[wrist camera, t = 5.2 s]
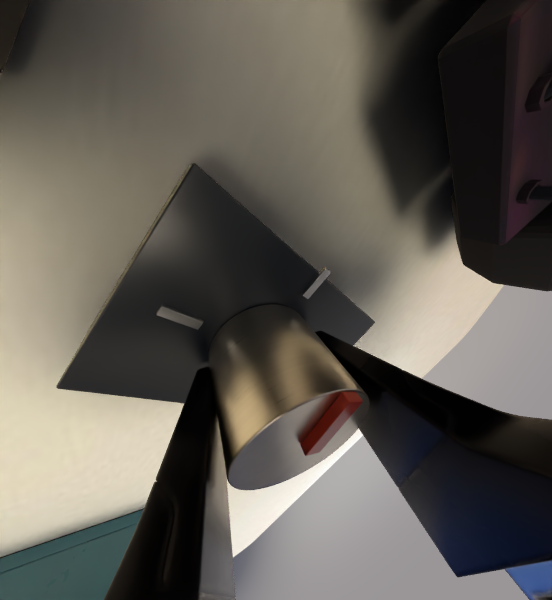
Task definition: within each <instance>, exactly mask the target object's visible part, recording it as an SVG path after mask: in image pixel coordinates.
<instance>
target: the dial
mask: <svg viewBox="0 0 552 600" xmlns="http://www.w3.org/2000/svg"><path fill="white" fill-rule="evenodd" d="M209 365H210V372H211V378H212V384H213V391H214V397H215V404H216V410H217V417H218V423H219V430H220V436H221V442H222V449H223V455H224V462H225V468H226V475H227V479H228V482H229V483H230V484H231V486H233V487H234V488H237V489H240V490H255V489H261V488H266V487H269V486H273V485H276V484H278V483H281V482H284V481H286V480H288V479H291V478H293V477H295V476H297V475H299V474H301V473H303V472H304V471H306V470H308V469H310V468H311V467H313V466H315V465H316V464H318V463H319V462H321V461H322V460H324V459H325V458H327V457H328V456H329V455H331V454H332V453H333V452H334V451H336V450H337V449H338V448H339V447H340V446H342V445H343V444H344V443H345V442H346V441H347V440H348V439H349V438H350V437H351V436H352V435H353V434H354V433H355V431H356V430H357V429H358V428H359V426H360V425H361V424H362V422H363V420H364V419H365V417H366V415H367V413H368V410H369V405H370V403H369V398H368V396H367V394H366V393H365V392H364V391H363V389H362V388H361V387H360V386H359V385H358V383H357V382H356V381H355V380H354V379H353V377H352V376H351V375H350V374H349V373H348V371H347V370H346V369H345V368H344V367H343V366H342V364H341V363H340V362H339V361H338V360H337V358H336V357H335V356H334V355H333V354H332V352H331V351H330V350H329V349H328V348H327V346H326V345H325V344H324V343H323V342H322V340H321V339H320V338H319V337H318V336H317V335H316V333H315V332H314V331H313V330H312V329H311V327H310V326H309V325H308V324H307V323H306V321H305V320H304V319H303V318H302V317H301V316H300V314H299V313H297V312H296V311H295V310H293V309H291V308H289V307H286V306H282V305H273V304H270V305H261V306H257V307H253V308H250V309H248V310H245V311H243V312H241V313H239V314H238V315H236V316H234V317H233V318H232V319H230V320H229V321H228V322H227V323H225V324H224V325H223V326H222V327H221V329H220V330H219V331H218V332H217V334H216V335H215V337H214V339H213V341H212V343H211V345H210V348H209Z"/></svg>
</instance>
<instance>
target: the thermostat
mask: <svg viewBox="0 0 552 600" xmlns="http://www.w3.org/2000/svg"><path fill="white" fill-rule="evenodd" d="M330 273H331V272H330V271H329V270H328V269H327V268H325V267H323V269H322V270H321V271H320V272H318V271H317V270H315V269H314V268H313V267H312V266H311V265H310V264H309V263H307V262H306V261H305V260H304V259H303V258H302V257H301V256H299V255H298V254H297V253H296V252H295V251H294V250H293V249H292V248H290V247H289V246H288V245H287V244H286V243H285V242H284V241H282V240H281V239H280V238H279V237H278V236H277V235H276V234H274V233H273V232H272V231H271V230H270V229H269V228H268V227H266V226H265V225H264V224H263V223H262V222H261V221H260V220H259V219H257V218H256V217H255V216H254V215H253V214H252V213H251V212H249V211H248V210H247V209H246V208H245V207H244V206H243V205H241V204H240V203H239V202H238V201H237V200H236V199H235V198H233V197H232V196H231V195H230V194H229V193H228V192H227V191H226V190H224V189H223V188H222V187H221V186H220V185H219V184H218V183H216V182H215V181H214V180H213V179H212V178H211V177H210V176H208V175H207V174H206V173H205V172H204V171H203V170H202V169H200V168H199V167H198V166H197V165H196V164H192V165H190V166H188V167H187V169H186V170H185V172H184V174H183V175H182V177H181V179H180V180H179V182H178V184H177V185H176V187H175V189H174V190H173V192H172V194H171V195H170V197H169V198H168V200H167V202H166V203H165V205H164V207H163V208H162V210H161V212H160V213H159V215H158V217H157V218H156V220H155V222H154V223H153V225H152V226H151V228H150V230H149V231H148V233H147V235H146V236H145V238H144V240H143V241H142V243H141V245H140V246H139V248H138V250H137V251H136V253H135V254H134V256H133V258H132V259H131V261H130V263H129V264H128V266H127V268H126V269H125V271H124V273H123V274H122V276H121V278H120V279H119V281H118V282H117V284H116V286H115V287H114V289H113V291H112V292H111V294H110V296H109V297H108V299H107V301H106V302H105V304H104V305H103V307H102V309H101V310H100V312H99V314H98V315H97V317H96V319H95V320H94V322H93V324H92V325H91V327H90V329H89V330H88V332H87V334H86V335H85V337H84V339H83V341H82V342H81V344H80V346H79V348H78V349H77V351H76V353H75V355H74V356H73V358H72V360H71V362H70V364H69V365H68V367H67V369H66V371H65V372H64V374H63V376H62V378H61V379H60V381H59V383H58V385H57V388H58V389H66V390H75V391H83V392H92V393H101V394H109V395H118V396H126V397H135V398H144V399H152V400H161V401H170V402H178V403H185V401H186V398H187V396H188V393H189V390H190V388H191V385H192V383H193V380H194V377H195V375H196V372H197V370H198V369H200V368H203V367H207V366H208V367H209V368H210V365H209V348H210V345H211V343H212V341H213V339H214V337H215V335H216V334H217V332H218V331H219V330H220V329H221V327H222V326H223V325H224V324H225V323H227V322H228V321H229V320H230V319H232V318H233V317H234V316H236V315H238V314H239V313H241V312H243V311H245V310H248V309H250V308H253V307H257V306H261V305H270V304H273V305H282V306H286V307H289V308H291V309H293V310H295V311H296V312H297V313H299V314H300V316H301V317H302V318H303V319H304V320H305V321H306V323H307V324H308V325H309V326H310V327H311V329H312V330H313V331H314V332H316V331H323V332H325V333H328V334H330V335H332V336H334V337H336V338H338V339H340V340H342V341H344V342H346V343H348V344H350V345H352V346H353V345H354V344H355V343H356V342H357V341H358V340H359V339H360V338H361V337H362V336H363V335H364V334H365V333H366V332H367V331H368V329H369V328H370V327H371V326H372V325H373V324H374V323H375V321H373V320H372V319H371V318H370V317H369V316H368V315H367V314H365V313H364V312H363V311H362V310H361V309H360V308H359V307H358V306H356V305H355V304H354V303H353V302H352V301H351V300H350V299H348V298H347V297H346V296H345V295H344V294H343V293H342V292H340V291H339V290H338V289H337V288H336V287H335V286H334V285H332V284H331V283H330V282H329V281H328V280H327V279H326V278H327V277H328V275H329V274H330Z"/></svg>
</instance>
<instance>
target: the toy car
mask: <svg viewBox="0 0 552 600" xmlns="http://www.w3.org/2000/svg"><path fill="white" fill-rule="evenodd" d="M438 64H439V72H440V80H441V88H442V96H443V104H444V112H445V120H446V128H447V136H448V144H449V152H450V160H451V168H452V176H453V184H454V193H453V195H452V197H451V204H452V211H453V218H454V225H455V233H456V240H457V244H458V248H459V251H460V255H461V259H462V262H463V264H464V265H465V266H466V267H468V268H469V269H471V270H473V271H474V272H476V273H478V274H479V275H481V276H483V277H484V278H486V279H488V280H489V281H491V282H492V283H496V284H503V285H509V286H516V287H522V288H529V289H535V290H542V291H552V0H486V1H485V2H484V4H483V5H482V6H481V7H480V8H479V9H478V10H477V11H476V12H475V13H474V14H473V16H472V17H471V18H470V19H469V20H468V21H467V22H466V23H465V24H464V25H463V26H462V28H461V29H460V30H459V31H458V32H457V33H456V34H455V35H454V36H453V37H452V38H451V40H450V41H449V42H448V43H447V44H446V45H445V46H444V47H443V48H442V50H441V52H440V54H439V56H438Z"/></svg>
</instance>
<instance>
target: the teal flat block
mask: <svg viewBox="0 0 552 600" xmlns="http://www.w3.org/2000/svg"><path fill="white" fill-rule="evenodd" d="M143 510H144V509H143ZM143 510H140V511H137V512H135V513H132V514H129V515H126V516H123V517H120V518H117V519H114V520H111V521H108V522H105V523H102V524H99V525H97V526H94V527H91V528H88V529H85V530H82V531H79V532H76V533H73V534H70V535H67V536H64V537H61V538H59V539H56V540H53V541H50V542H47V543H44V544H41V545H38V546H35V547H32V548H29V549H26V550H23V551H20V552H18V553H15V554H12V555H9V556H6V557H3V558H0V600H104V597H105V595H106V593H107V591H108V589H109V587H110V585H111V582H112V580H113V578H114V576H115V574H116V572H117V570H118V567H119V565H120V563H121V561H122V559H123V556H124V554H125V552H126V550H127V547H128V545H129V543H130V541H131V539H132V536H133V534H134V532H135V530H136V527H137V525H138V522H139V520H140V517H141V515H142V512H143Z"/></svg>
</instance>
